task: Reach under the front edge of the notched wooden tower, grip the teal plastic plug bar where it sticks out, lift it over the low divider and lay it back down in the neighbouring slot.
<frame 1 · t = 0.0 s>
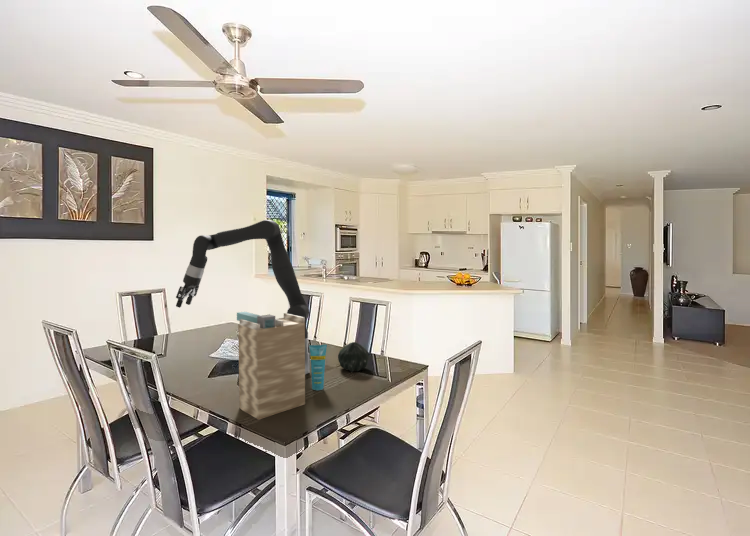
hand: (183, 305, 200), 31 cm above the table, tool tilted 20°, fingers open, 8 cm apart
squash: (353, 369, 204), on the table
tube: (318, 389, 177), on the table
notched wooden tower: (272, 406, 158), on the table
plug bar: (254, 323, 155), point 32 cm above the table, touching notched wooden tower
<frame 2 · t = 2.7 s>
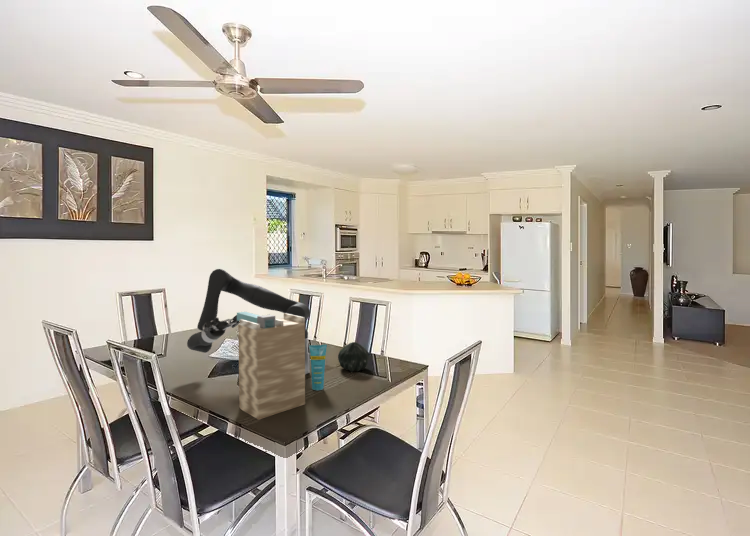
hand: (228, 318, 171), 31 cm above the table, tool pointing upward, fingers open, 8 cm apart
nothing on the table moved.
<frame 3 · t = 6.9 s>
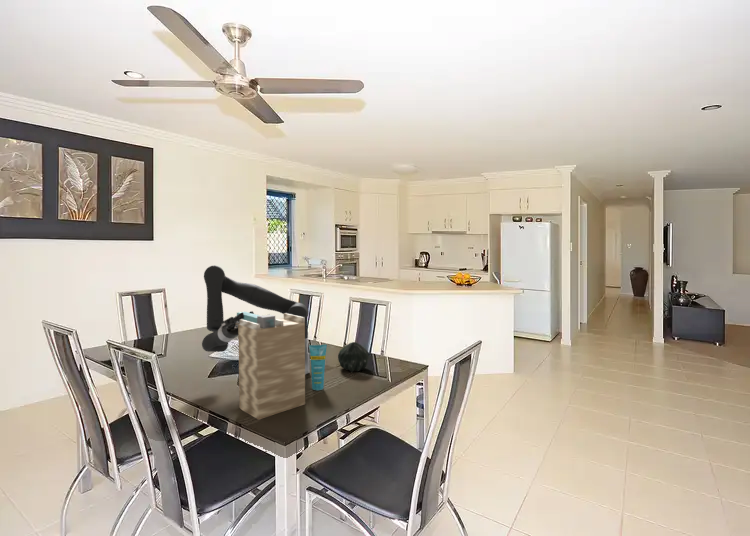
hand: (247, 314, 159), 35 cm above the table, tool pointing upward, fingers closed on plug bar, 3 cm apart
plug bar: (254, 323, 155), point 32 cm above the table, touching gripper, notched wooden tower
everything else where it was.
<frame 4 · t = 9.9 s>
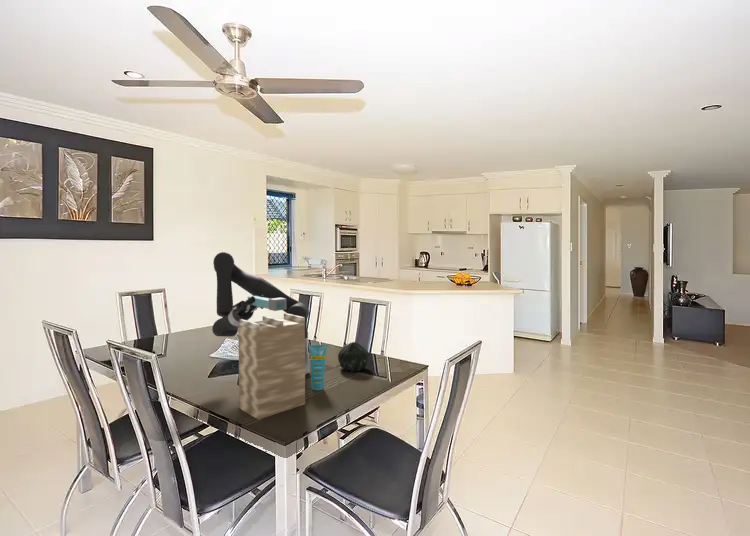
hand: (258, 297, 162), 41 cm above the table, tool pointing upward, fingers closed on plug bar, 3 cm apart
plug bar: (265, 306, 158), point 38 cm above the table, touching gripper
everything else where it was.
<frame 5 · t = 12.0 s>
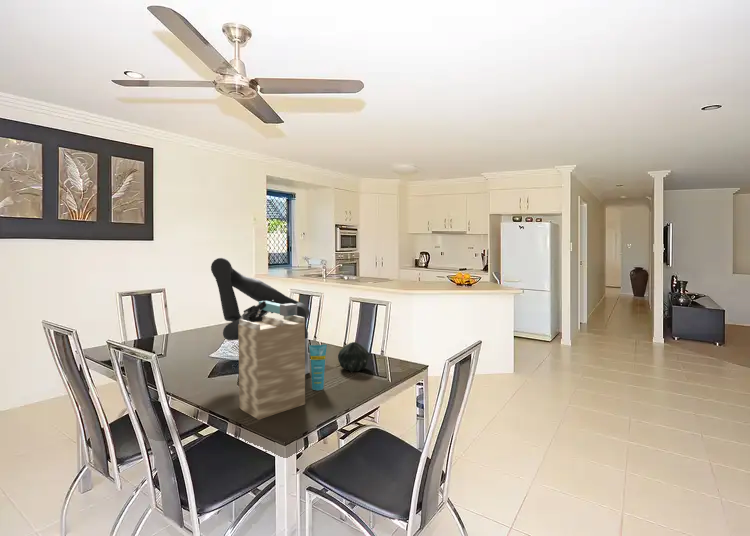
hand: (269, 302, 165), 38 cm above the table, tool pointing upward, fingers closed on plug bar, 3 cm apart
plug bar: (276, 311, 162), point 35 cm above the table, touching gripper
everything else where it was.
when the fingers open (35 cm above the table, at t = 13.3 s): plug bar stays where it is, resting on notched wooden tower.
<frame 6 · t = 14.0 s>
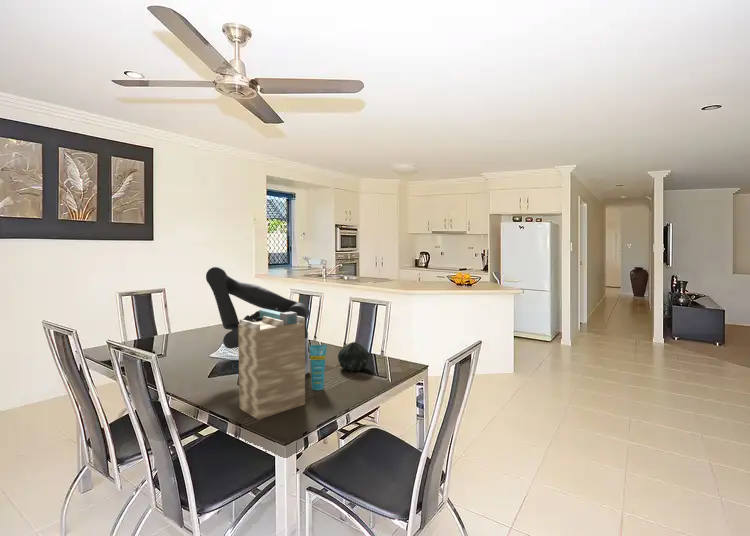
hand: (268, 311, 166), 35 cm above the table, tool pointing upward, fingers open, 8 cm apart
plug bar: (276, 320, 162), point 32 cm above the table, touching notched wooden tower
everything else where it was.
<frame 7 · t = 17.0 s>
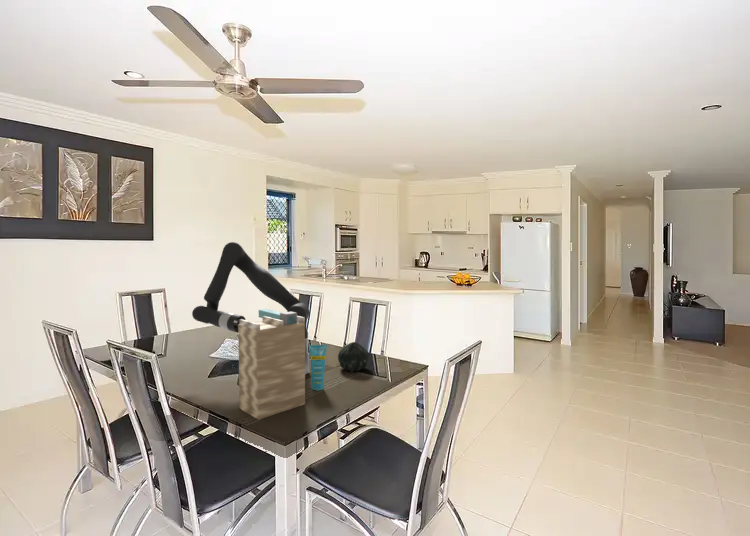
hand: (261, 330, 177), 25 cm above the table, tool horizontal, fingers open, 8 cm apart
nothing on the table moved.
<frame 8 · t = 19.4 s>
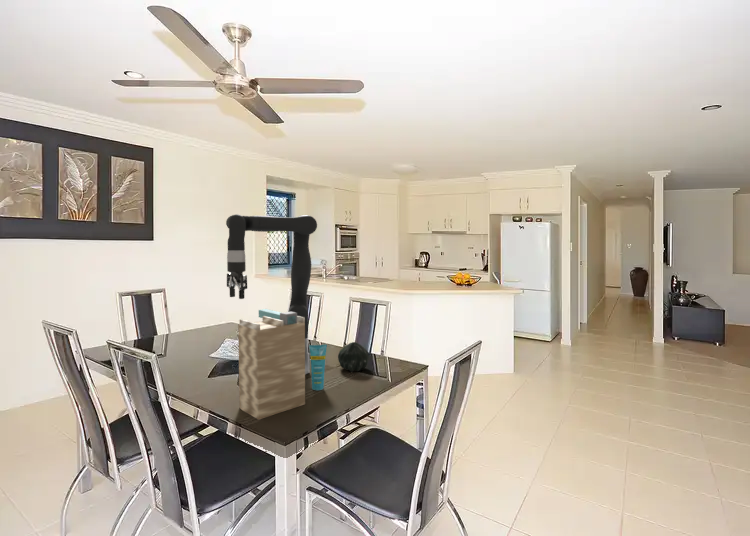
hand: (236, 297, 180), 38 cm above the table, tool pointing down, fingers open, 8 cm apart
nothing on the table moved.
at the end: plug bar 0.0 cm from the target spot on the notched wooden tower, point 32.0 cm above the notched wooden tower's base; plug bar tilted 0°; the gripper is holding nothing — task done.
